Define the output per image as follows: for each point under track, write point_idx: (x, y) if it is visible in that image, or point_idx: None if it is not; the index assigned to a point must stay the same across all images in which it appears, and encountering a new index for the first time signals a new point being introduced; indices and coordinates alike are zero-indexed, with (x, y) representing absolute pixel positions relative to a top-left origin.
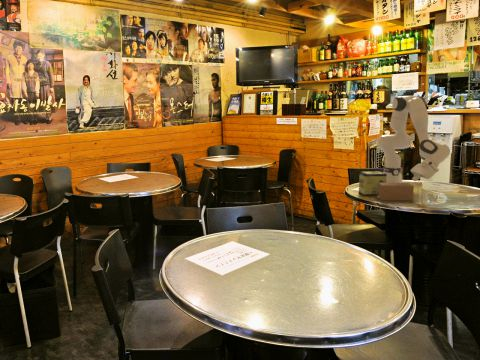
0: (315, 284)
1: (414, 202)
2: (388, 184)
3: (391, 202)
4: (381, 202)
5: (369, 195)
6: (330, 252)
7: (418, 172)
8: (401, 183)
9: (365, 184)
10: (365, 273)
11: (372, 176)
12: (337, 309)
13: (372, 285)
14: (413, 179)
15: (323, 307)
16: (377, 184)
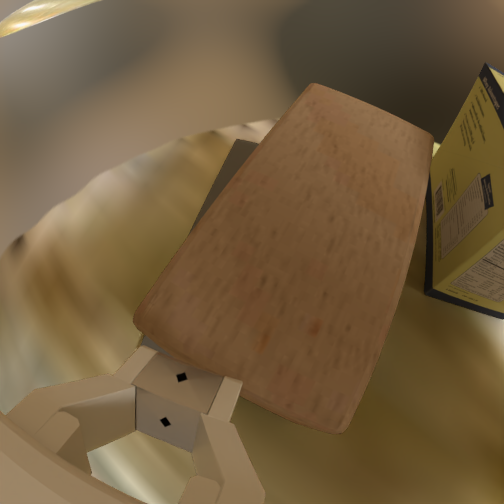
0: (43, 3)
1: (142, 341)
2: (332, 127)
3: (216, 181)
4: (249, 142)
5: (427, 193)
6: (66, 5)
7: (34, 476)
8: (355, 291)
9: (456, 121)
10: (18, 22)
11: (492, 105)
12: (18, 13)
13: (8, 25)
14: (169, 358)
15: (26, 8)
16: (468, 182)
